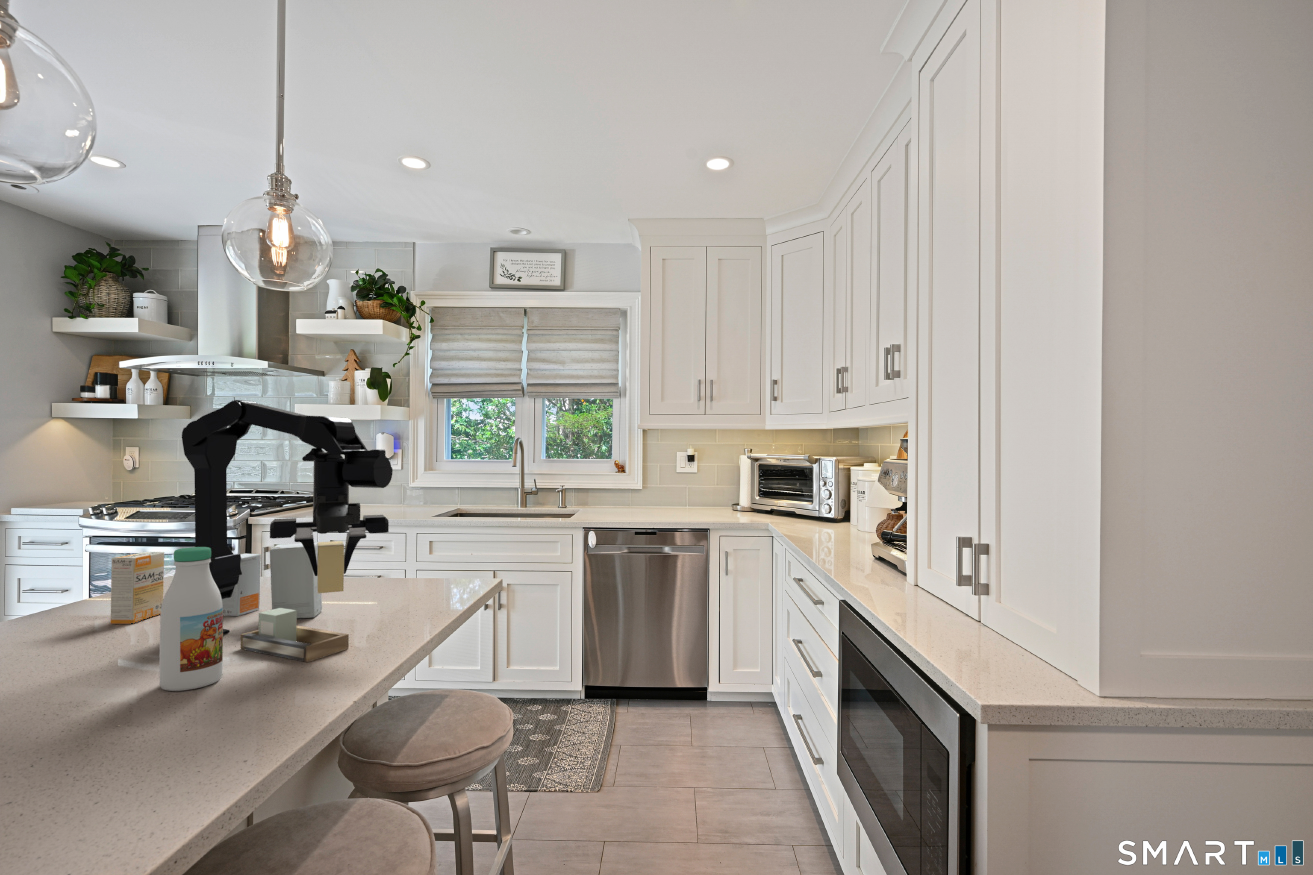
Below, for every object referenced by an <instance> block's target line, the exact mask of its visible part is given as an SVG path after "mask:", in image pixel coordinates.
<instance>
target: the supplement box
mask: <svg viewBox="0 0 1313 875" xmlns="http://www.w3.org/2000/svg"><path fill="white" fill-rule="evenodd" d="M164 570H165V552H164V551H143V552H139V553H133V554H132V553H131V554H128V555H123V556H116V557H112V558H111V576H110V579H111V580H110V582H111V583H110V585H111V586H110V624H113V625H114V624H115V625H120V624H121V625H125V624H126V625H130V624H131V623H133V624H136V623H138V621H139V622H142V621H144V620H143V619H145V620H148V619H150V618H153V617H156V616H159V614H160V615H161V607H162V602H163V599H164V583H165V582H164V580H165V579H164V573H165V571H164ZM152 616H153V617H152ZM149 617H150V618H149ZM147 618H148V619H147ZM141 620H142V621H141ZM135 622H136V623H135ZM131 625H132V624H131Z"/></svg>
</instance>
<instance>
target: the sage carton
mask: <svg viewBox="0 0 1313 875" xmlns="http://www.w3.org/2000/svg"><path fill="white" fill-rule="evenodd" d="M297 619H298V618H297V610H291V609H284V608H277V609H273V610H272V609H269V610H265V611H260V612H258V630H259V635H263V636H268V637H274V638H279V639H285V640H290V641H296V630H297V626H298V625H297V623H298V622H297V621H298V620H297Z"/></svg>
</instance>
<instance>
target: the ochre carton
mask: <svg viewBox="0 0 1313 875" xmlns="http://www.w3.org/2000/svg"><path fill="white" fill-rule="evenodd" d="M317 542H318V553H317V567H318V580H317V588H318V593H321V594H327V593H337V592H338V593H339V592H344V588H345V587H344V583H345V582H344V581H345V580H344V575H345V574H344V552H345V545H344V541H343V540H335V541H317Z"/></svg>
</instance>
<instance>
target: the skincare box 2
mask: <svg viewBox="0 0 1313 875" xmlns="http://www.w3.org/2000/svg"><path fill="white" fill-rule="evenodd" d="M318 542H319V541H314V546H315V553H316V560H317V553H318ZM269 564H270V590H271V592H270V593H271V595H270V596H271V610H273V609H277V608H284V609H291V610H297V619H309V618H315V617H317V615H319V614H320V613H321V612H322V610H323V601H322V600H323V599H322V596H323V595H322V594H323V593H318V588H317V580H318V575H317V576H315V574H314V572H313V569H312V566H311V563H310V560H309V557H308V554H307V552H306V550H305V548H304V547H303V545H302V543H301V542H296V543H283V544H282V543H281V544H277V545H275V546H273V547H272V548H270V549H269Z"/></svg>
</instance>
